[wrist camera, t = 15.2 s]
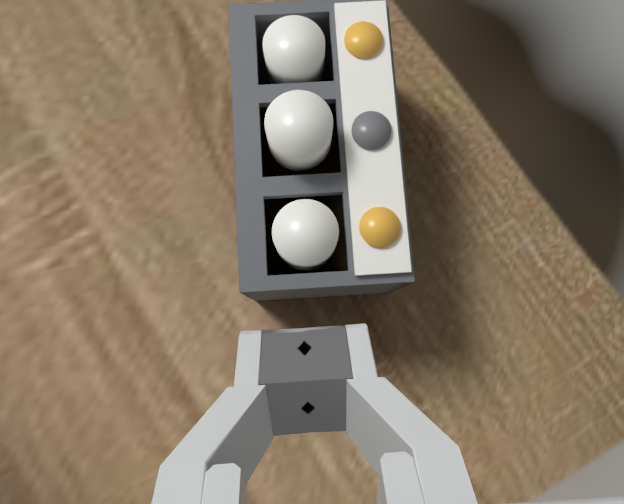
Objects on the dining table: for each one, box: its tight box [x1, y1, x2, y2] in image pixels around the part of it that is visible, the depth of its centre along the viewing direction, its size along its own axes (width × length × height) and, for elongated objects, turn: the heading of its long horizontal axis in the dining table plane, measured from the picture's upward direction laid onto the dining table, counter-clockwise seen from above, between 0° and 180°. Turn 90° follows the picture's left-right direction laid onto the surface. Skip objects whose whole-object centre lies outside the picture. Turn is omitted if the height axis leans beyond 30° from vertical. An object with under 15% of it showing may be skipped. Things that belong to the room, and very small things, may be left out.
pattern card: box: [334, 0, 412, 276], centre depth 27 cm, size 16×3×1 cm, turn 4°
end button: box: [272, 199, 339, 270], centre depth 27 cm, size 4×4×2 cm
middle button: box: [264, 90, 333, 171], centre depth 26 cm, size 4×4×2 cm
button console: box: [229, 0, 415, 301], centre depth 31 cm, size 17×9×8 cm, turn 4°
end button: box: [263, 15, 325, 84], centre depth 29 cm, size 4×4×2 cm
